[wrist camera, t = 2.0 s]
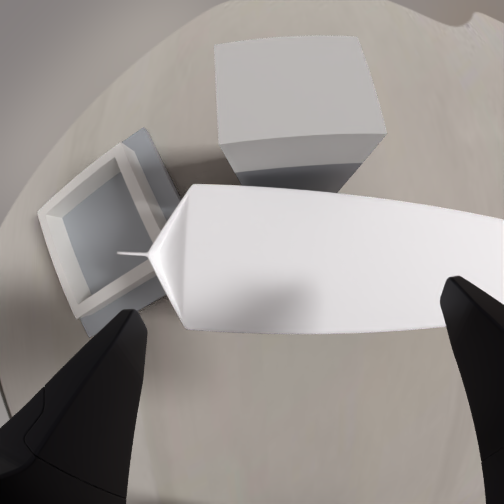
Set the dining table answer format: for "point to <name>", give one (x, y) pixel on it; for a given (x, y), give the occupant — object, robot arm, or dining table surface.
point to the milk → (318, 260)
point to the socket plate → (110, 231)
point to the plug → (296, 110)
